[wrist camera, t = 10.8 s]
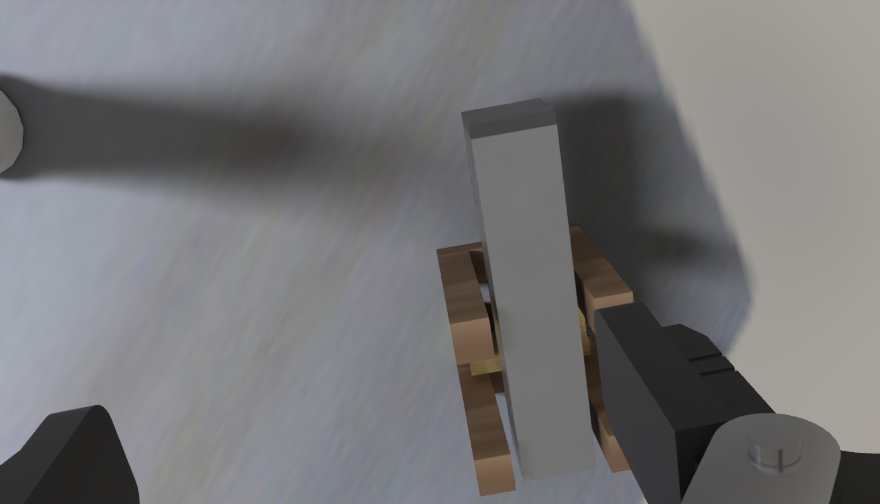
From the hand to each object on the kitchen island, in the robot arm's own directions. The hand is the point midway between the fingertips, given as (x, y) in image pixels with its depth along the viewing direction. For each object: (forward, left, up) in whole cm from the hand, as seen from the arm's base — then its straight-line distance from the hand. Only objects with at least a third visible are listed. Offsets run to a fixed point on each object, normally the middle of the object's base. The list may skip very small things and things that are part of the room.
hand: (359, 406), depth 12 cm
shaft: (+8, +6, -24) cm, 26 cm away
